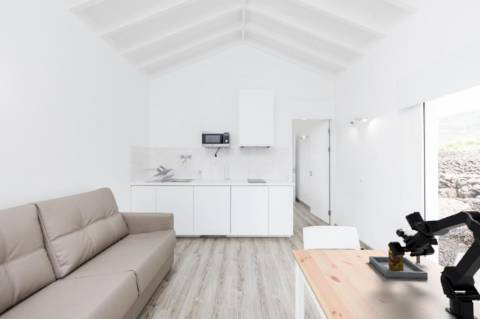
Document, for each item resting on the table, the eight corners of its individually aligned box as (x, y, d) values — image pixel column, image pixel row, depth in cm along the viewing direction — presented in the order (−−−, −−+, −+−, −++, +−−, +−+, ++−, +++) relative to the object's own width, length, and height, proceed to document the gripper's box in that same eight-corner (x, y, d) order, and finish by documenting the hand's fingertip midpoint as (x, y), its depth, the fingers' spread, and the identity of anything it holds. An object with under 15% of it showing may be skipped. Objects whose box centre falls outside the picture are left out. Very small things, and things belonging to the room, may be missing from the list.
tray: (427, 279, 111) (427, 272, 111) (385, 278, 113) (385, 271, 113) (405, 262, 129) (405, 257, 129) (369, 261, 130) (369, 256, 130)
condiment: (391, 272, 116) (390, 247, 116) (383, 265, 124) (383, 241, 124) (408, 273, 115) (407, 248, 115) (399, 266, 123) (399, 242, 123)
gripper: (428, 222, 111) (409, 239, 122) (390, 224, 109) (374, 241, 120) (445, 245, 103) (423, 261, 114) (404, 248, 101) (386, 264, 112)
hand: (401, 256), depth 115 cm, fingers open, 9 cm apart
